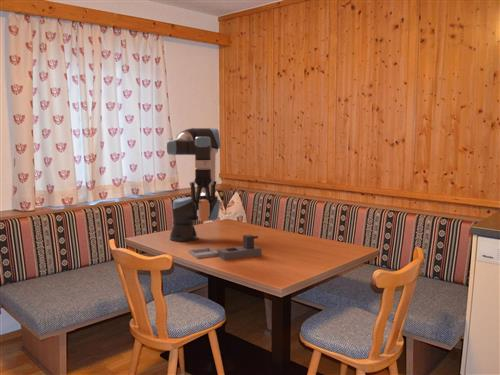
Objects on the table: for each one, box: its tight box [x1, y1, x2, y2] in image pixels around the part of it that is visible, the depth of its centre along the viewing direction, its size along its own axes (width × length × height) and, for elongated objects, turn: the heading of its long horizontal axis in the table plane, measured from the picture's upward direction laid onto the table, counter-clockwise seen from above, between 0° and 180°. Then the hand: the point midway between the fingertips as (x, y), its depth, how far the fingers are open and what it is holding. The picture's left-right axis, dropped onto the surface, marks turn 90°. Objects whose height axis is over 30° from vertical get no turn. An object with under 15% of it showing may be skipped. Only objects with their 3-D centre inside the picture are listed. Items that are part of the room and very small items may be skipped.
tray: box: [188, 246, 218, 259], centre depth 229 cm, size 11×11×2 cm
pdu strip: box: [217, 234, 262, 261], centre depth 227 cm, size 8×20×10 cm, turn 118°
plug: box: [197, 199, 210, 222], centre depth 227 cm, size 4×4×10 cm
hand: (203, 215), depth 227 cm, fingers closed on plug, 4 cm apart
